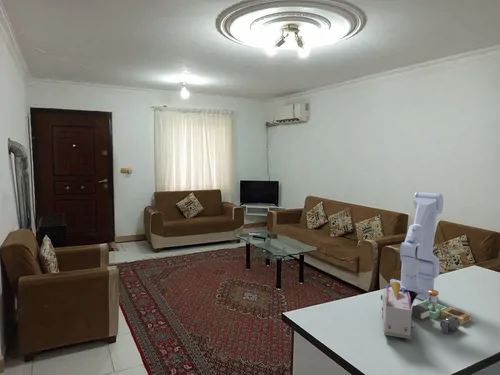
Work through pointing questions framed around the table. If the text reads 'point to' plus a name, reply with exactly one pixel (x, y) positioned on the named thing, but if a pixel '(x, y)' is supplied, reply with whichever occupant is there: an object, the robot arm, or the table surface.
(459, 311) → the socket block
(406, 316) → the toy vehicle
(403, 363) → the table surface
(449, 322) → the trolley wheel
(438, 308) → the tray
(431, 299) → the pin
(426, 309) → the block
